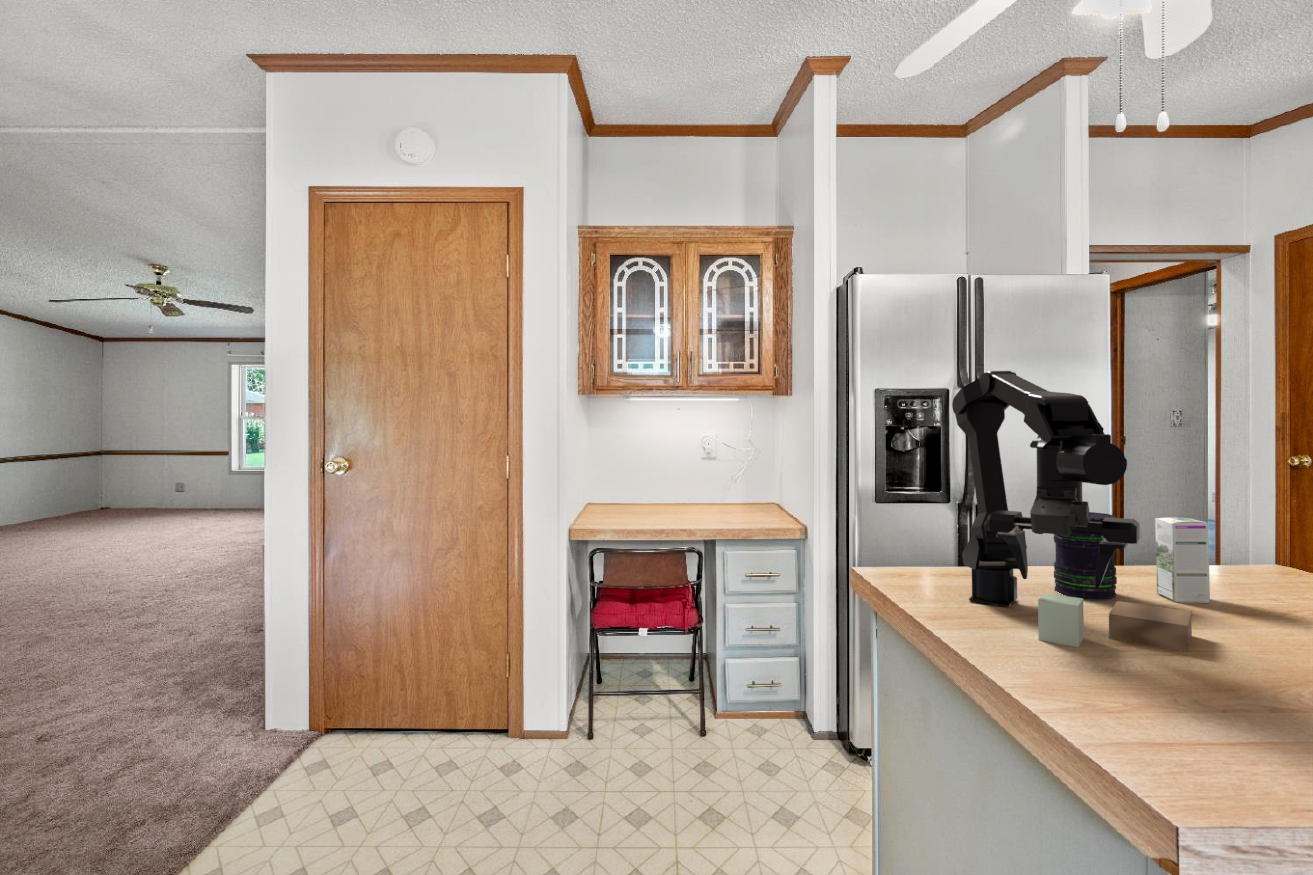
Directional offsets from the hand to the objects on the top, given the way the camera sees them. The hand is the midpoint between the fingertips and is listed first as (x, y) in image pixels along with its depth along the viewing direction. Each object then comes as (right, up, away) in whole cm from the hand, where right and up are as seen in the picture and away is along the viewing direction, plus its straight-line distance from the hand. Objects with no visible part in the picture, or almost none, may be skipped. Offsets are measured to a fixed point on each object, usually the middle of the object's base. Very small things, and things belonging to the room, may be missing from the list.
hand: (1060, 583), depth 93 cm
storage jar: (+21, -8, +25) cm, 33 cm away
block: (+14, -8, 0) cm, 16 cm away
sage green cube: (0, -8, 0) cm, 8 cm away
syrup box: (+35, -8, +20) cm, 41 cm away
